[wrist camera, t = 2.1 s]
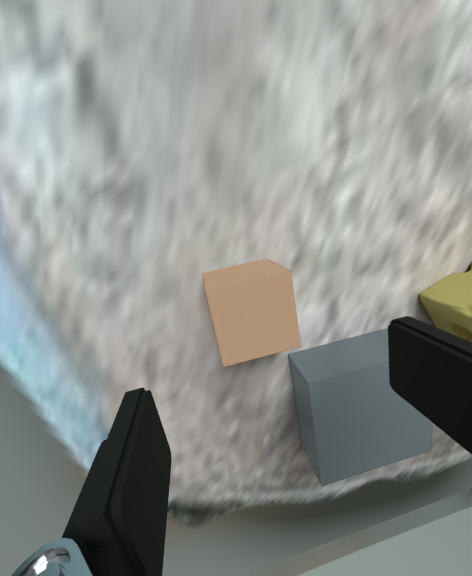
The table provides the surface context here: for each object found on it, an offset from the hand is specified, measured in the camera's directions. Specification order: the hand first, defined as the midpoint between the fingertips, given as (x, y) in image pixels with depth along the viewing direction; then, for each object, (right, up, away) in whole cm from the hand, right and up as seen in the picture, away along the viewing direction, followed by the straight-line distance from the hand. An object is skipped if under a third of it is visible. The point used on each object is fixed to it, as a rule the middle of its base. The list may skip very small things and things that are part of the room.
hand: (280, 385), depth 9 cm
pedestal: (+9, -6, +14) cm, 17 cm away
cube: (-1, +3, +10) cm, 11 cm away
